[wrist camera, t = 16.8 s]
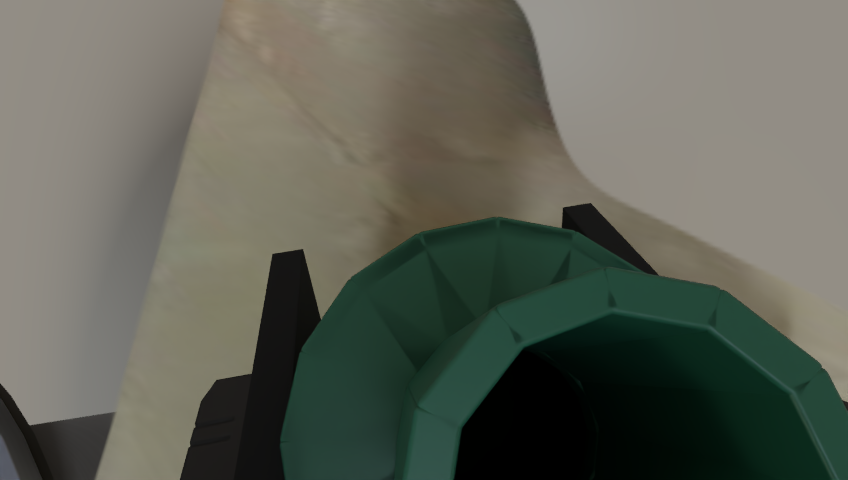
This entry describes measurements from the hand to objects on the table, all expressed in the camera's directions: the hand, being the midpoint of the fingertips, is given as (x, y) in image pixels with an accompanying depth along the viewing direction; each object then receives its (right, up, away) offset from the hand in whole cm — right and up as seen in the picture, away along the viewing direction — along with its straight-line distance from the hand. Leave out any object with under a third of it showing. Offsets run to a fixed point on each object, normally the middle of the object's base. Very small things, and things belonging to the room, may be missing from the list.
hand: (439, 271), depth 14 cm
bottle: (0, -5, +7) cm, 9 cm away
